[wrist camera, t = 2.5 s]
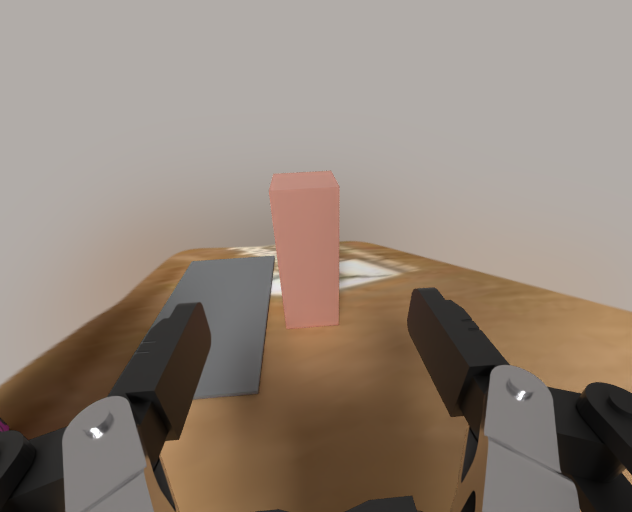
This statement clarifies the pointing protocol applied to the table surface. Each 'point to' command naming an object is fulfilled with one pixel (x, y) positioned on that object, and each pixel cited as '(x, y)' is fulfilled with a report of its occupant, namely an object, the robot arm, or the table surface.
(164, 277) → the table surface
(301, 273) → the block
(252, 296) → the mat
